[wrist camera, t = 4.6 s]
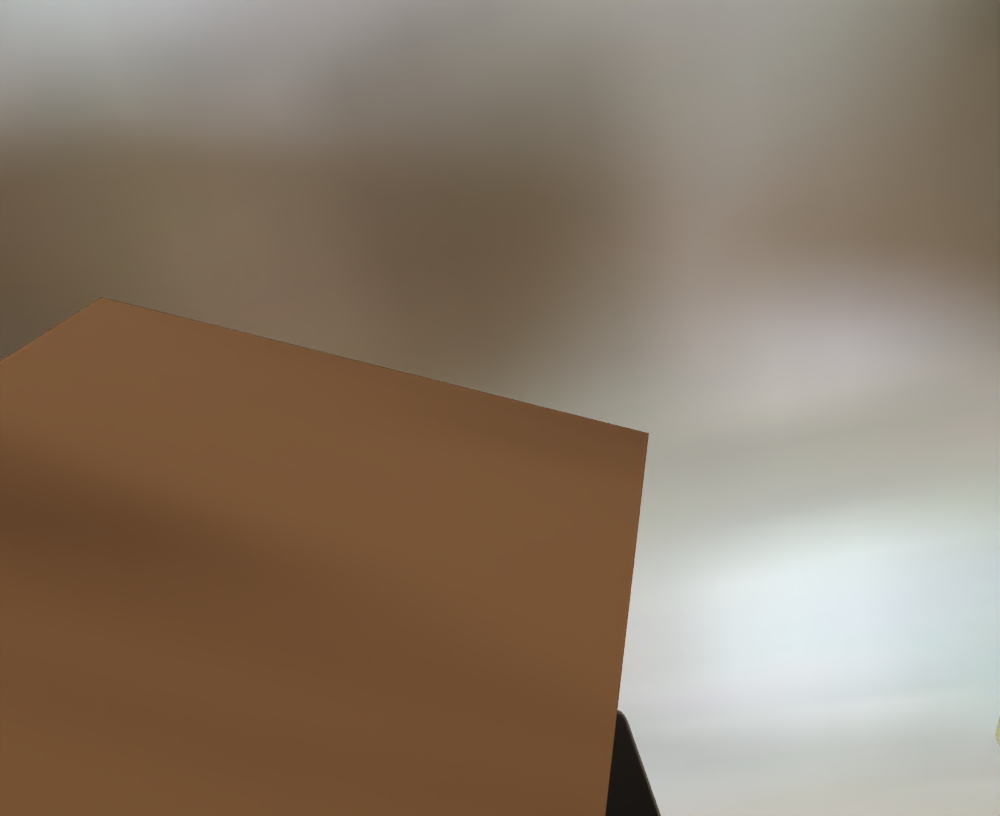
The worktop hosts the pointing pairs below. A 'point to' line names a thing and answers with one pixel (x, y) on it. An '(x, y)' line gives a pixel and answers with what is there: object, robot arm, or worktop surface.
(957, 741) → the worktop surface
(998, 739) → the olive cube
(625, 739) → the robot arm
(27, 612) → the walnut cube
